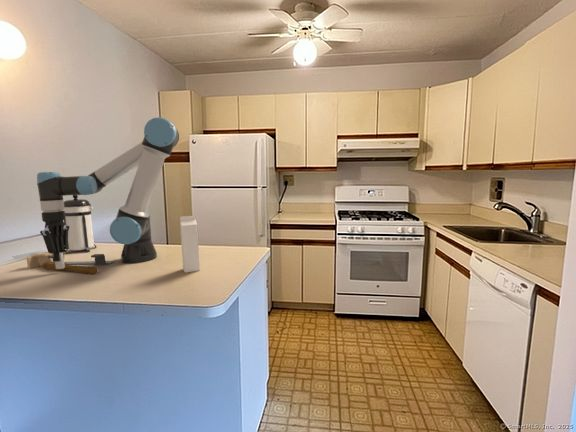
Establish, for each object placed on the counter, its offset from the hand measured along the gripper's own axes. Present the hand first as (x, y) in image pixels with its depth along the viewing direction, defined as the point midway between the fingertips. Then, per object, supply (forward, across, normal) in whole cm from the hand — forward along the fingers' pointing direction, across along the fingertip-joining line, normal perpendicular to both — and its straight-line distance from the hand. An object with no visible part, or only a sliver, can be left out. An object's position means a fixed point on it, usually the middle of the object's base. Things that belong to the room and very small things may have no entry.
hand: (60, 268), depth 128 cm
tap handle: (+2, -2, +2) cm, 4 cm away
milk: (+2, 0, +54) cm, 54 cm away
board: (+2, -10, -3) cm, 10 cm away
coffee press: (+2, -38, -19) cm, 42 cm away
